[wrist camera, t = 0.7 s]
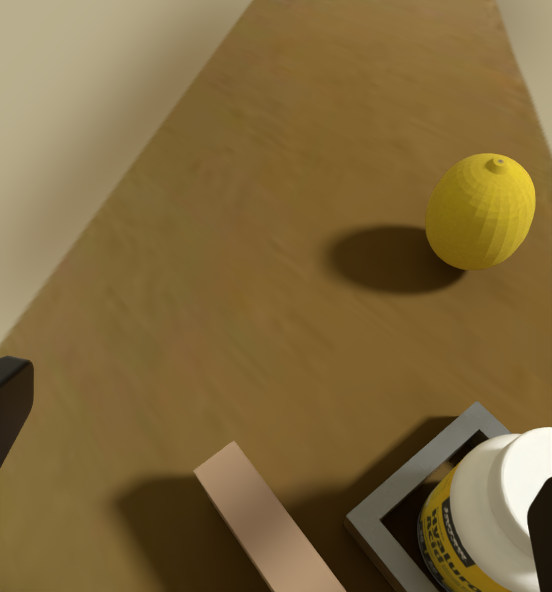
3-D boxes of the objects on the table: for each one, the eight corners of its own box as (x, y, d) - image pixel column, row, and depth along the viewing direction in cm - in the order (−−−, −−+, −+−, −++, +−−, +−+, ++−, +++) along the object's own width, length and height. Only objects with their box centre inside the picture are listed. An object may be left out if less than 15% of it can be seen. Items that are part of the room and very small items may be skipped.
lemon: (398, 269, 32) (425, 171, 26) (436, 213, 35) (470, 111, 28) (483, 311, 31) (536, 218, 24) (518, 249, 33) (574, 149, 26)
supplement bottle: (389, 526, 24) (438, 466, 16) (472, 458, 26) (554, 372, 18) (477, 641, 22) (587, 638, 14) (563, 557, 23) (707, 511, 15)
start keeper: (614, 559, 23) (638, 553, 22) (487, 707, 21) (504, 713, 19) (465, 415, 27) (476, 400, 25) (342, 524, 24) (346, 515, 23)
